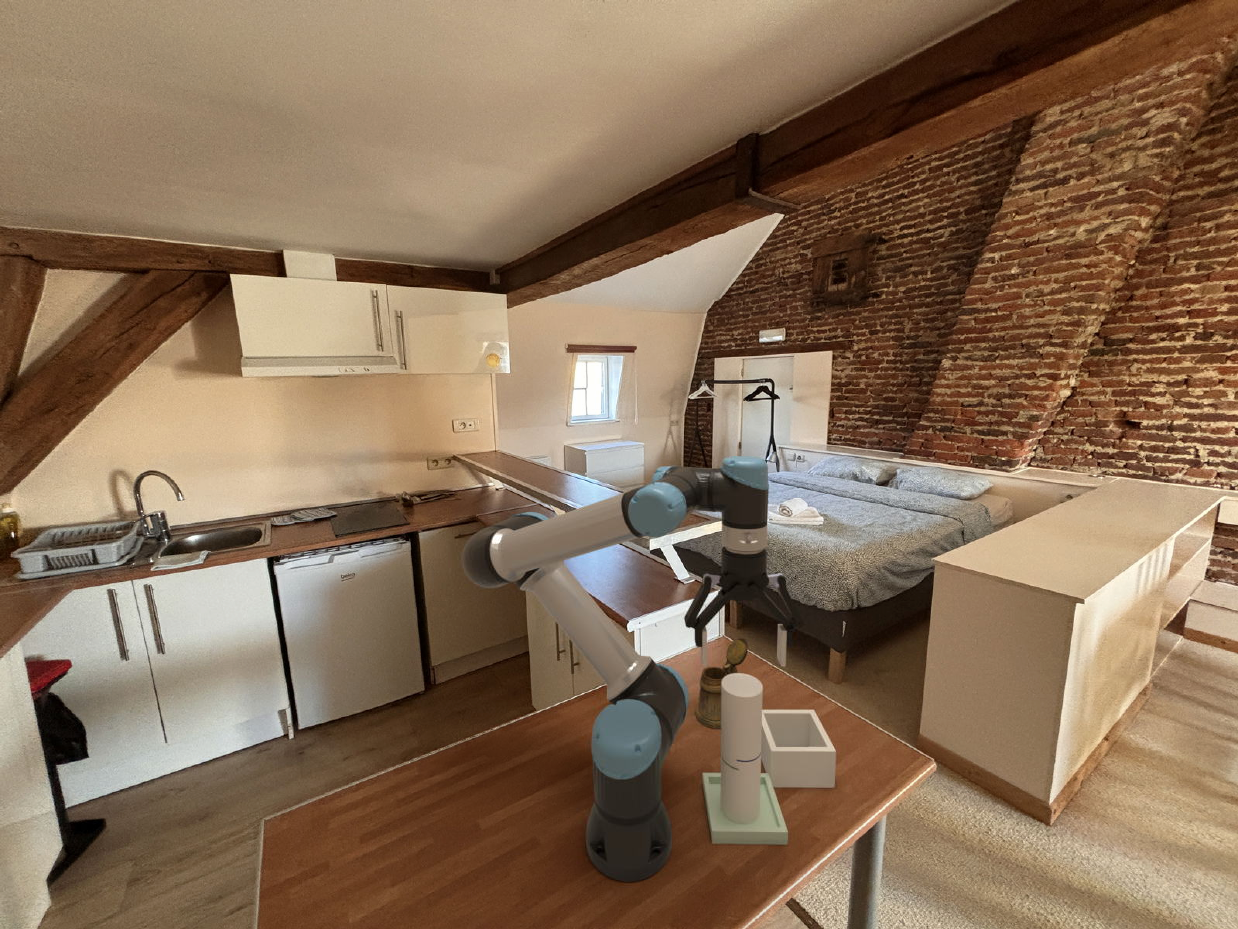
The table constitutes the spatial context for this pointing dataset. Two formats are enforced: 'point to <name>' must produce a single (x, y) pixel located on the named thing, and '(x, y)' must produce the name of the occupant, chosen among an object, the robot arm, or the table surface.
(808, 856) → the table surface
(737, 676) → the cylindrical container
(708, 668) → the wooden mug
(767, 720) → the hollow square frame
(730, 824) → the tray
